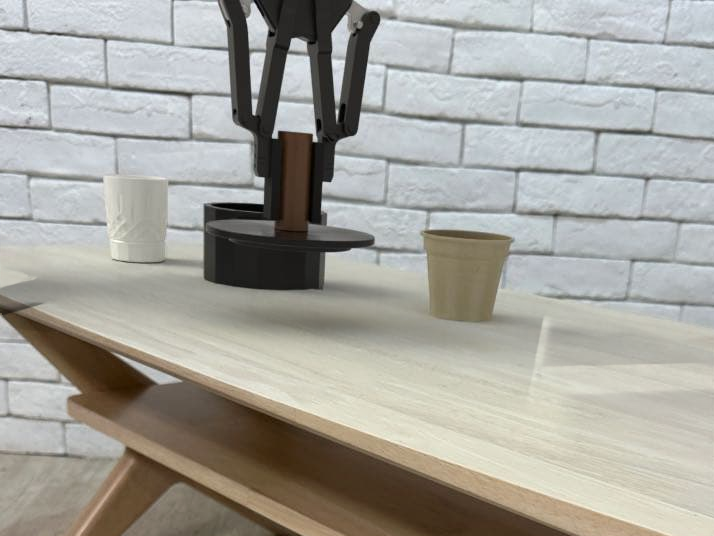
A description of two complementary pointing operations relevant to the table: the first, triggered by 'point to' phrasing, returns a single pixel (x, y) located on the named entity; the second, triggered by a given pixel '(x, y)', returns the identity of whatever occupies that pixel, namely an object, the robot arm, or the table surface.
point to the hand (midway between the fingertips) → (291, 219)
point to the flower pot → (464, 272)
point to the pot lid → (292, 211)
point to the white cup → (136, 216)
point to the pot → (256, 256)
